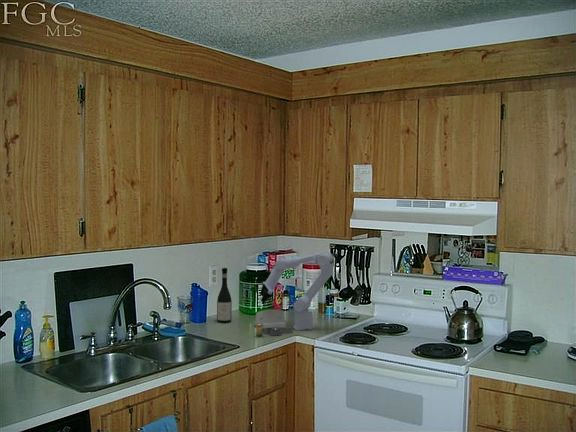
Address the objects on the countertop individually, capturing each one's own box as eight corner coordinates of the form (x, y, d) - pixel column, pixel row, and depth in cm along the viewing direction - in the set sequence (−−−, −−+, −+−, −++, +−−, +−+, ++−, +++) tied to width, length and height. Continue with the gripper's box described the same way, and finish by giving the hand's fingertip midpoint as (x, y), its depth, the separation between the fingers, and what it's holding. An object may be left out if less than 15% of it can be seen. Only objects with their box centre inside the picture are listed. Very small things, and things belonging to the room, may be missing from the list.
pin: (262, 334, 284) (262, 322, 283) (263, 336, 280) (263, 324, 279) (254, 335, 283) (254, 323, 283) (255, 337, 279) (255, 325, 279)
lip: (292, 332, 289) (292, 326, 289) (294, 335, 283) (294, 328, 283) (256, 333, 286) (256, 327, 285) (257, 336, 280) (257, 329, 280)
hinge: (256, 328, 296) (255, 309, 299) (254, 329, 301) (253, 310, 303) (286, 326, 301) (285, 308, 303) (284, 327, 305) (283, 309, 308)
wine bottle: (231, 323, 307) (231, 269, 305) (216, 323, 306) (217, 269, 305) (231, 319, 315) (231, 267, 313) (217, 319, 314) (217, 267, 313)
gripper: (266, 269, 309) (254, 289, 312) (268, 281, 295) (256, 301, 298) (277, 274, 311) (265, 294, 314) (279, 286, 297) (267, 306, 300)
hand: (262, 298), depth 306 cm, fingers open, 7 cm apart
